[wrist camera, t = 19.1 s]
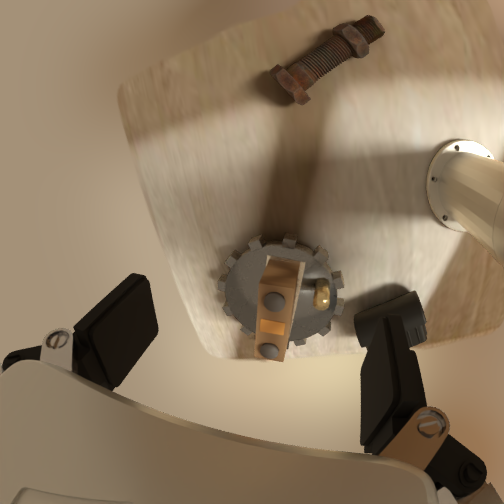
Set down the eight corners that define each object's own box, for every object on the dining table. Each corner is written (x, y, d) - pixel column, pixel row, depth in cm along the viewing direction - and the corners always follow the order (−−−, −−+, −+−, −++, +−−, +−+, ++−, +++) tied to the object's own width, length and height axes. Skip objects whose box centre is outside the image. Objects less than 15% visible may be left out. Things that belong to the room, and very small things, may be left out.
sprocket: (358, 247, 36) (363, 270, 30) (327, 347, 44) (325, 376, 38) (225, 221, 39) (207, 240, 33) (220, 323, 47) (206, 349, 42)
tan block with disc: (299, 263, 37) (293, 291, 31) (289, 333, 42) (282, 365, 36) (269, 259, 37) (257, 286, 32) (263, 329, 43) (253, 359, 37)
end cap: (411, 280, 37) (422, 306, 32) (421, 314, 39) (431, 342, 33) (352, 304, 42) (353, 333, 36) (366, 335, 43) (369, 365, 37)
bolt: (375, 37, 26) (291, 97, 33) (355, 7, 23) (265, 70, 30) (400, 43, 22) (304, 110, 29) (378, 8, 19) (275, 79, 26)
